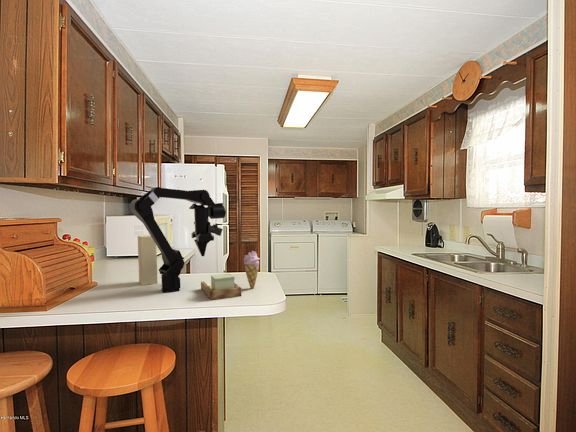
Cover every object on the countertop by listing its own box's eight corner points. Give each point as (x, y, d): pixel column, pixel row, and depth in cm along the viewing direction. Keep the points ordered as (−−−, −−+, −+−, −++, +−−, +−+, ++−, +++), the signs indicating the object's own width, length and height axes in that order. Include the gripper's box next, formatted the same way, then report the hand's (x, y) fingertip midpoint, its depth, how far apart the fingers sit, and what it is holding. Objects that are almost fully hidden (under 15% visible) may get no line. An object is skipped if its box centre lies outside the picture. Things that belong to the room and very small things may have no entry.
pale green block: (215, 295, 126) (214, 279, 126) (211, 291, 133) (210, 275, 133) (234, 292, 129) (234, 276, 129) (229, 288, 136) (229, 273, 136)
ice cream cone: (263, 287, 142) (262, 250, 141) (257, 290, 136) (256, 252, 135) (248, 286, 144) (247, 249, 143) (241, 289, 138) (240, 252, 137)
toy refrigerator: (159, 283, 153) (157, 235, 152) (141, 285, 149) (139, 236, 149) (156, 280, 160) (154, 234, 159) (139, 282, 156) (137, 235, 155)
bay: (210, 300, 124) (210, 291, 124) (201, 289, 141) (200, 281, 141) (241, 295, 129) (241, 287, 129) (228, 285, 145) (228, 278, 145)
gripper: (225, 219, 143) (227, 257, 144) (215, 218, 160) (216, 251, 161) (198, 220, 139) (199, 259, 139) (190, 219, 156) (192, 254, 156)
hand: (202, 256), depth 149 cm, fingers closed
